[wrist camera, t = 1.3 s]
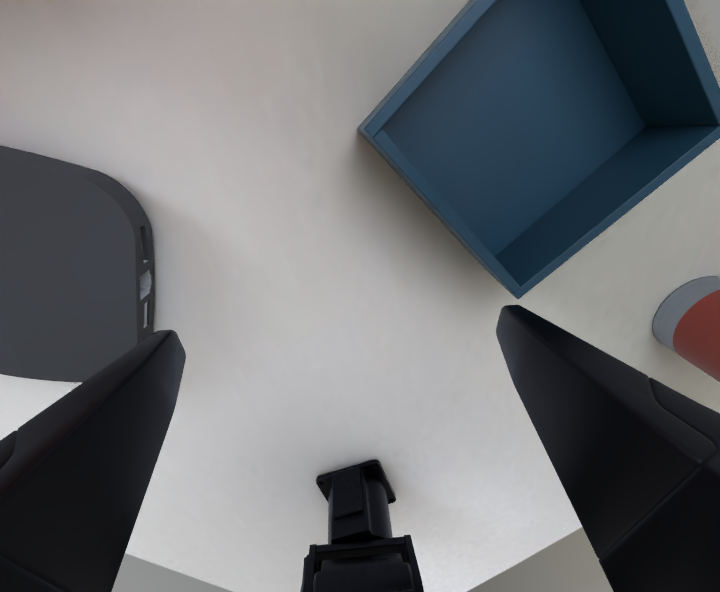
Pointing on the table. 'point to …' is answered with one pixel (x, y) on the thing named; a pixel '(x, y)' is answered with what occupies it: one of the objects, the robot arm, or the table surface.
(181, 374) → the robot arm
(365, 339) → the table surface
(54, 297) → the media streaming box
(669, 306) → the tin can
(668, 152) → the tote
